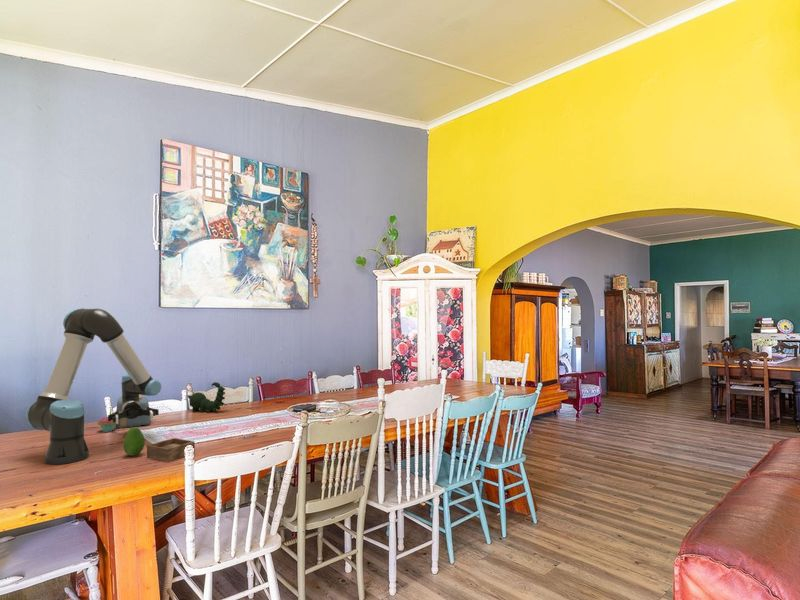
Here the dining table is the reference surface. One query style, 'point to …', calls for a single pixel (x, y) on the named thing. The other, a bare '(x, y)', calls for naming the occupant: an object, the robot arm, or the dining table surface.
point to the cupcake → (106, 424)
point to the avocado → (134, 441)
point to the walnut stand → (168, 449)
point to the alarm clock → (136, 421)
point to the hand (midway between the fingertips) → (135, 418)
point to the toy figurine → (207, 400)
